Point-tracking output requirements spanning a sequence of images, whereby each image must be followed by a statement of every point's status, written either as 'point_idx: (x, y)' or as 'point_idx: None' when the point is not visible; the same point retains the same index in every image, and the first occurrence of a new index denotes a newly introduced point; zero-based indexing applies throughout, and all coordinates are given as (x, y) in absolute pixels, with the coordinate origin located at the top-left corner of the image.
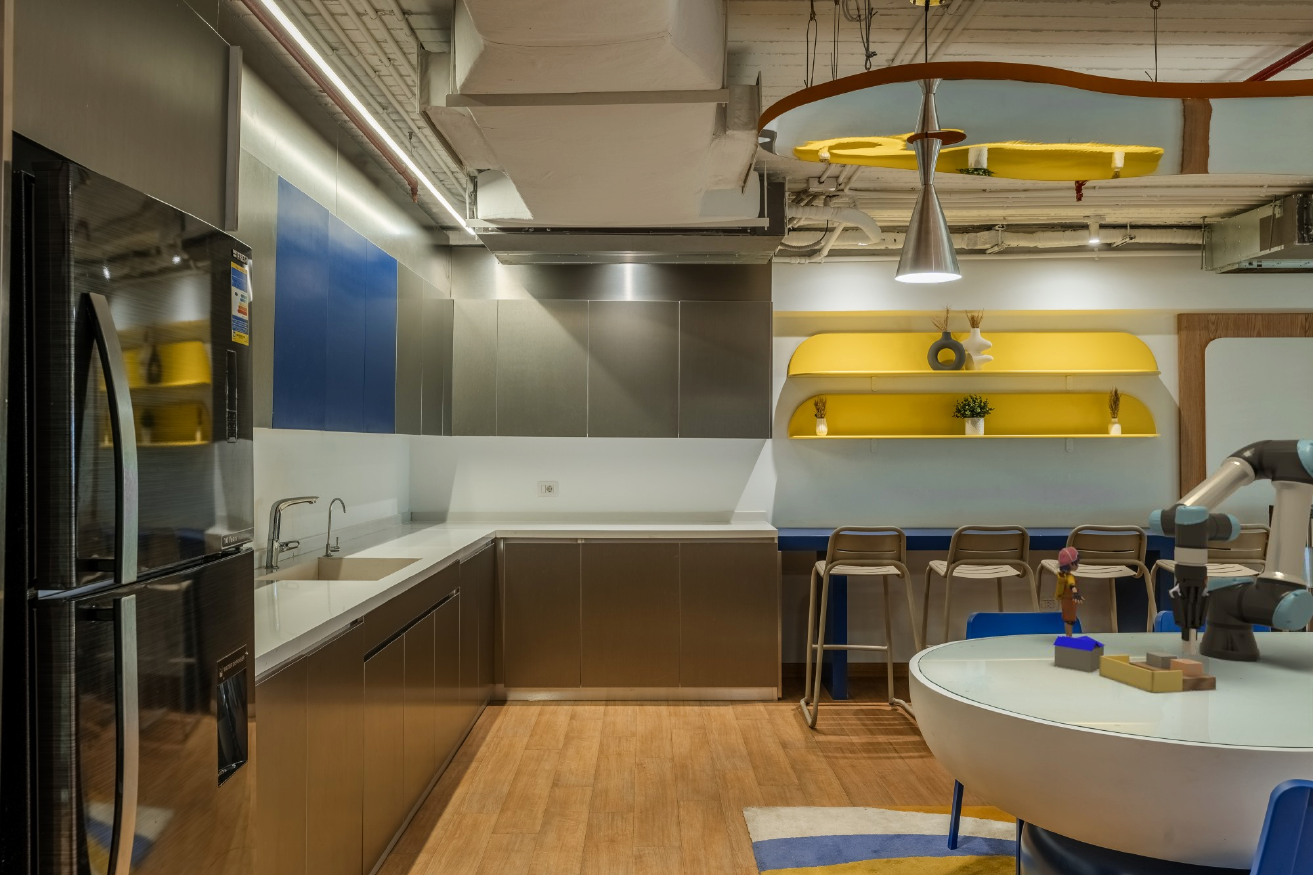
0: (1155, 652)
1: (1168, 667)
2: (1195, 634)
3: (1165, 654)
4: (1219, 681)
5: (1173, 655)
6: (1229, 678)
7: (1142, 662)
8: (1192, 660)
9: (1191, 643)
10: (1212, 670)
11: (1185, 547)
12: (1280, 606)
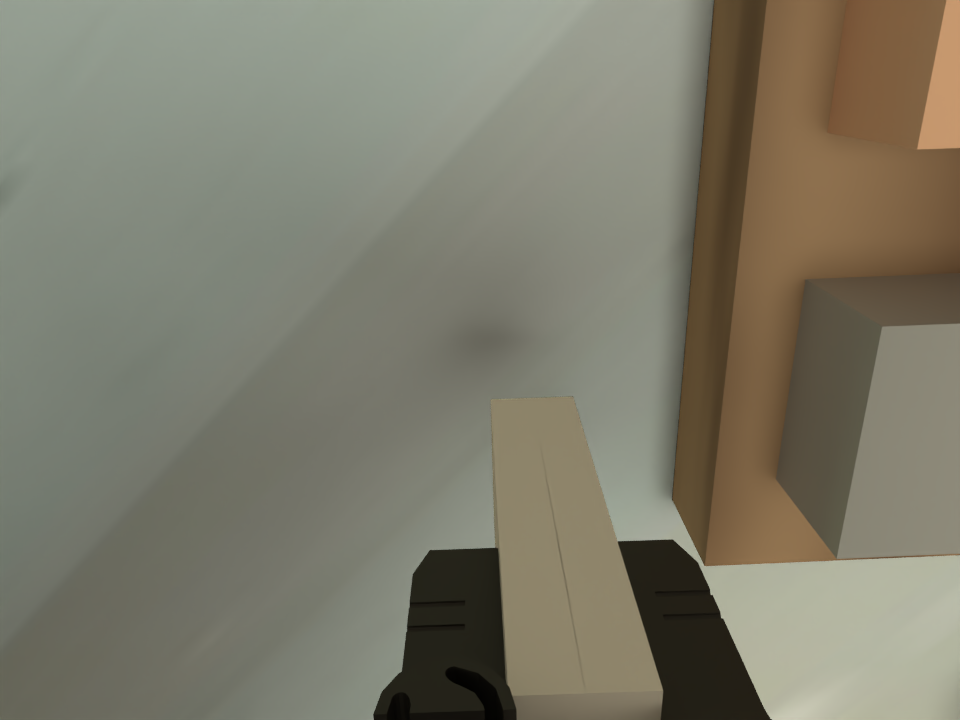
0: (954, 541)
1: (934, 276)
2: (518, 596)
3: (946, 431)
4: (358, 99)
5: (894, 368)
6: (137, 205)
7: None
8: (956, 8)
9: (590, 482)
10: (91, 500)
11: None
12: None
